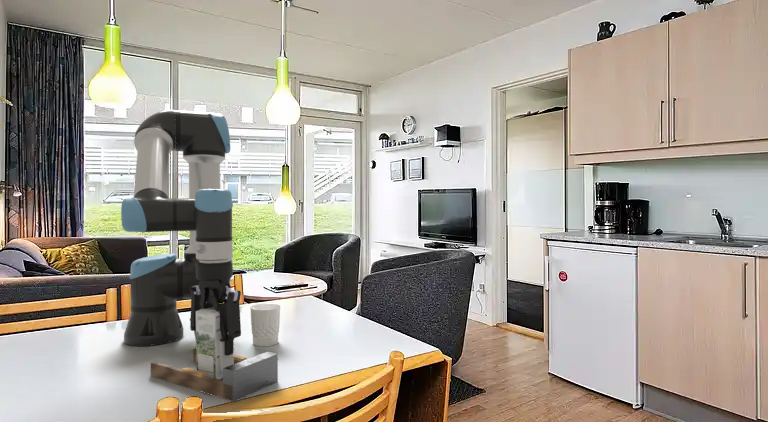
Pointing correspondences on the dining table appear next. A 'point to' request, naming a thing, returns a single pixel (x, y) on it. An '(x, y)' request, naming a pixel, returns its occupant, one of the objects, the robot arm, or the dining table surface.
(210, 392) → the brown parallel rails
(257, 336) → the white cup
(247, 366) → the connector block
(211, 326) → the syrup box
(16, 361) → the dining table surface
